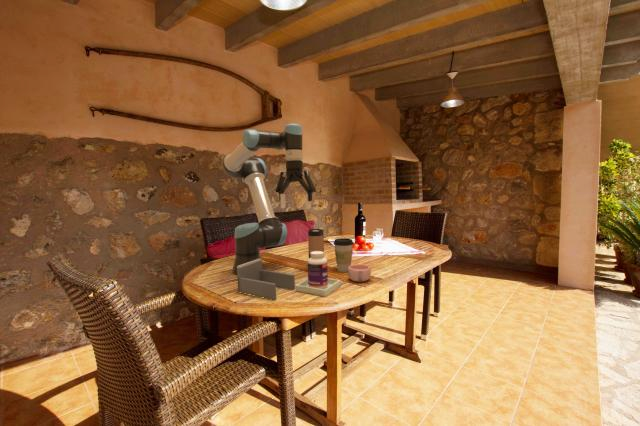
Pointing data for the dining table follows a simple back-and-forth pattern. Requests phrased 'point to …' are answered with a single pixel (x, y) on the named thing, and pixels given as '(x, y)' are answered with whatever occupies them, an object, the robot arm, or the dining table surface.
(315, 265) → the pill bottle
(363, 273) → the mug
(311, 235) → the travel mug
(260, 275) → the bay
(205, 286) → the dining table surface
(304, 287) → the tray
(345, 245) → the coffee cup
